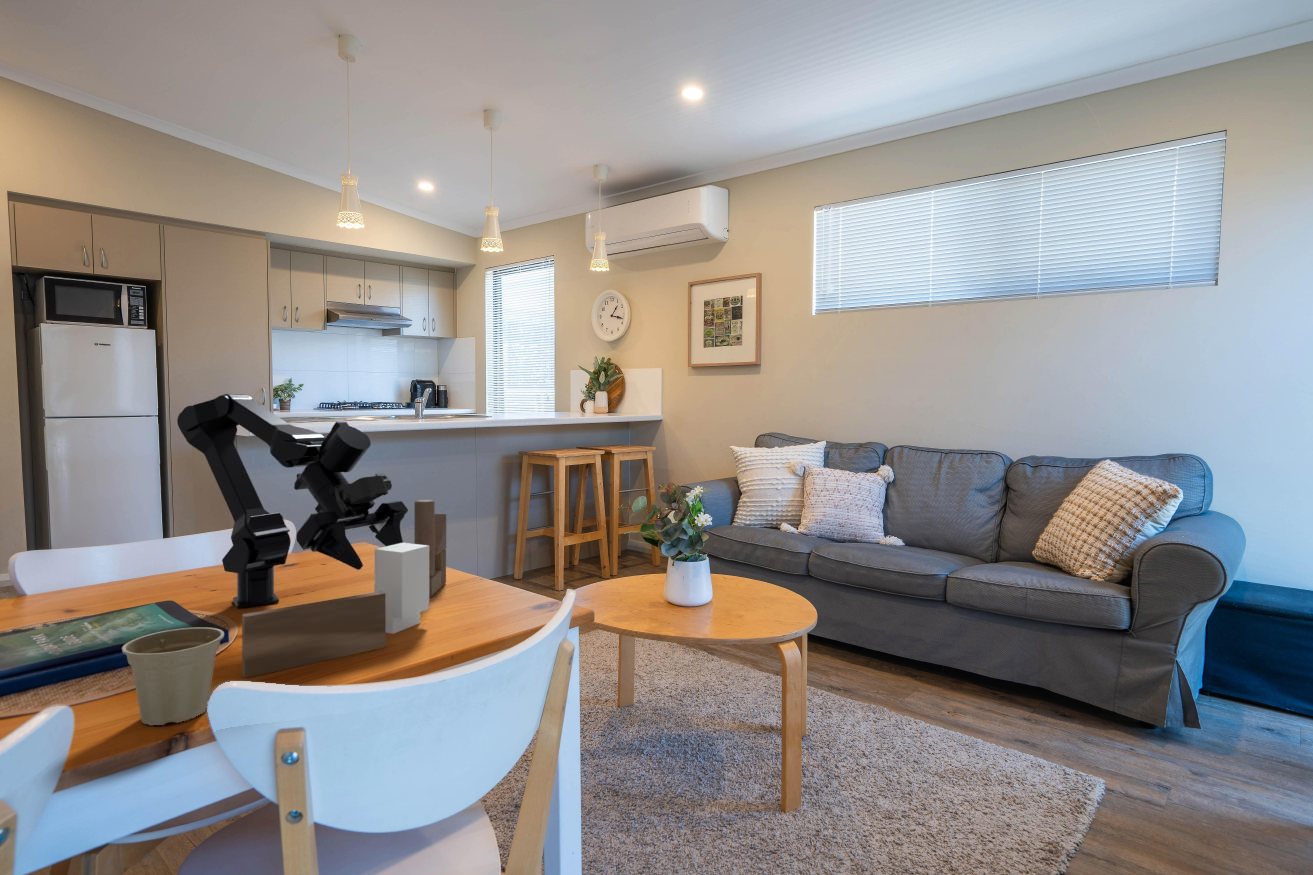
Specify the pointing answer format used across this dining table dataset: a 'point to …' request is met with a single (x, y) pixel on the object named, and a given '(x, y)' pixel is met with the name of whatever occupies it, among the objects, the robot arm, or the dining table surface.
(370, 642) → the wall board
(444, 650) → the dining table surface
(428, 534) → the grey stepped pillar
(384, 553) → the white notched pillar
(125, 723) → the dining table surface
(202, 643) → the flower pot
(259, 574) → the robot arm
